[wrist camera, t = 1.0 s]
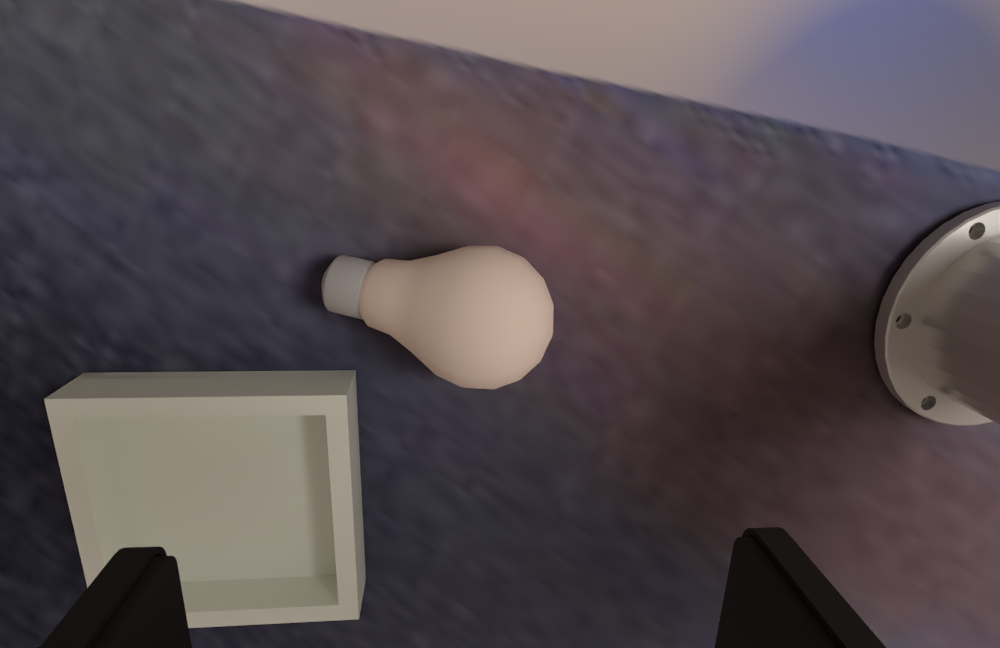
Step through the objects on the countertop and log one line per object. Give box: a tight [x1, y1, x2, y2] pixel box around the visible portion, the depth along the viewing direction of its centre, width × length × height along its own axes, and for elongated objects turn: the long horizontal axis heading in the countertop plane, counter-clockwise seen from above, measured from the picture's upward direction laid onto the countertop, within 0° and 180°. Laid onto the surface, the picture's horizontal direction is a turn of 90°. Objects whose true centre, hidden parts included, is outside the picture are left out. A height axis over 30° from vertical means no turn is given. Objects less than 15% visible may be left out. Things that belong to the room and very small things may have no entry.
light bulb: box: [320, 246, 554, 389], centre depth 26 cm, size 7×7×11 cm
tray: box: [44, 370, 366, 628], centre depth 29 cm, size 13×13×3 cm
